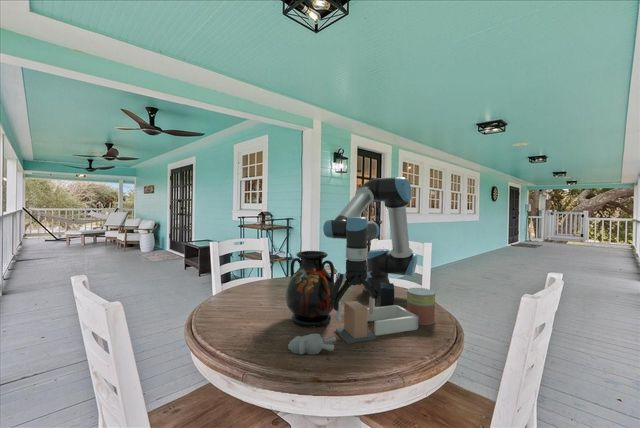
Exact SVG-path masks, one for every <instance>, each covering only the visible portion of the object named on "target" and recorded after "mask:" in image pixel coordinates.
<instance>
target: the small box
mask: <svg viewBox="0 0 640 428" xmlns="http://www.w3.org/2000/svg"><path fill="white" fill-rule="evenodd" d="M381 294H382V295H381V296H379V297H380V298H379V299H380V300H379V307H383V306H392V305H395V284H394V283H393V282H392V283H391V282H390V283H383V282H381Z"/></svg>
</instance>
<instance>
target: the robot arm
mask: <svg viewBox="0 0 640 428" xmlns="http://www.w3.org/2000/svg"><path fill="white" fill-rule="evenodd" d="M411 186H412V185H411V183H410V180H409V179H408V178H406V177H398V176H396V177H395V176H394V177H381V178H380V177H376V178H372V179H369V180H368V181H366V182H365V183H363V184H362V185H360V187H358V188H357V190H356V191H355V193H354V196H353V197H352V199H351V200H349V202H348V203H347V205H345V206H344V208H343V209H342V210H341V211H340V213H338V215H337V216H336V217H335V219H327V220H326V221H325V222H324V224H323V227H322V229H323V231H322V232H323V235H324V236H325V237H326V238H328V239H329V238H330V239H333V240H334V239H341V240H345V242H346V243H345V258H346V259H345V273H341V272H338V273H337V275H336V276H337V277H336V281H334V282H335V284H334V287H333V289H332V291H331V293H330V295H329V299H331V300H332V301H334V309H333V311H335V318H336V319H337V320H338V321H341V320H342V301H340V300H341V299H342V297H343V296H344V295H345V294H346V292H347V291H348V290H349V288H351V287H352V286H363V291H364V292H367V293H369V295H371V296H369V299H368V300H369V301H368V302H369V303H368V304H369V305H368V308H369V314H370V315H372V316H375V307H377V305H378V304H377V302H378V301H377V300H379V297H380V296H381V295H382V294H381V282H383V283H391V282H390V279H389V274H391V275H398V276H403V277H405V276H406V277H411V276H413V275H414V274H415V272H416V267H417V264H418V263H417V262H418V256H417V254H415V253H414V252H413V249H412V248H411V247H410V241H409V232H408V231H409V229H408V228H409V227H408V218H407V208H406V207H407V206H409V202H410V201H411V200H412V197H413V194H412V191H413V190H412V187H411ZM374 202H383V203H384V206H385V208H386V209H388V220H389V226H390V228H389V229H390V238H391V246H392V249H391V250H390V249H388V248H379V249H370V250H369V251H368V241H373V240H375V239H376V238H377V237H378V236H379V234H380V232H381V231H380V227H379V225H378V224H377V222H375V221H372V220H368V218H366V217H365V216H361V215H362V213H363V212H364V210H365V209H366V208H367V206H369V205H371V204H372V203H374ZM367 252H368V253H367ZM344 280H345V281H344ZM343 281H344V282H343ZM342 283H343V284H342Z"/></svg>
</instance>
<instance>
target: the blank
mask: <svg viewBox="0 0 640 428" xmlns="http://www.w3.org/2000/svg"><path fill="white" fill-rule="evenodd" d="M367 308H368V307H365V306H364V305H363V304H361V303H360V302H359V301H357V300H354V301H344V308H343V310H344V311H343V317H344V318H343V327H344V329H345V330H346V331H347V332H348V333H349V334H350V335H351V336H352V337H353V338H361V337H367V330H368V321H367V315H368V309H367Z"/></svg>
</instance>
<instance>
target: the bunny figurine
mask: <svg viewBox="0 0 640 428" xmlns="http://www.w3.org/2000/svg"><path fill="white" fill-rule="evenodd" d="M336 341H337V339H336V336H331V337H326V338H324V339H323V338H322V337H321V335H320V334H319V333H310V334H306V335H303V336H301V335H297V336H295V337H294V338H293V339H290V341H289V343H288V344H287V347H288V351H291V352H292V353H293V354H299V355H303V354H307V355H319V353H320V352H321V351H322V350H327V351H331V352H332V351H334V350H335V345H334V344H333V343H334V342H336Z"/></svg>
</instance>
